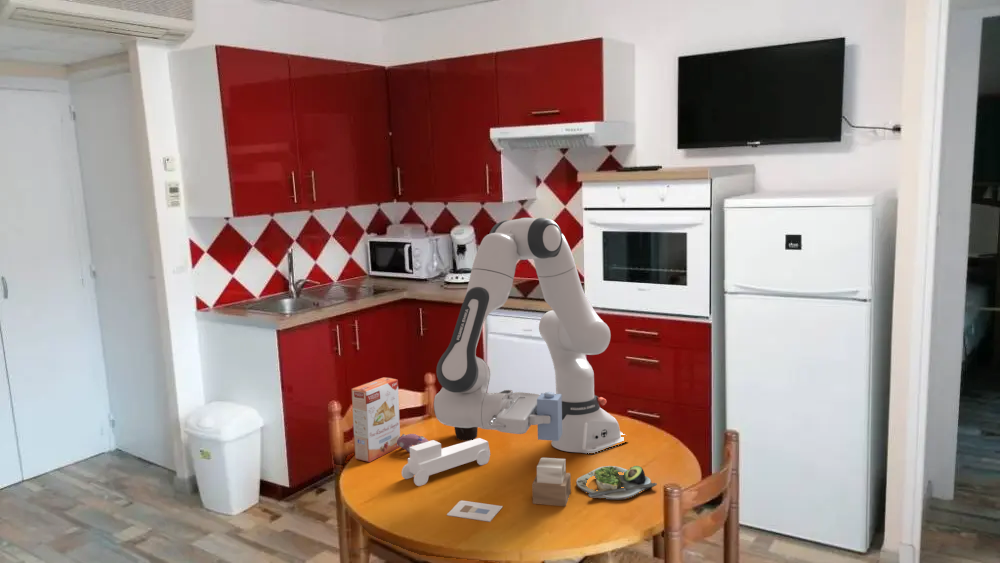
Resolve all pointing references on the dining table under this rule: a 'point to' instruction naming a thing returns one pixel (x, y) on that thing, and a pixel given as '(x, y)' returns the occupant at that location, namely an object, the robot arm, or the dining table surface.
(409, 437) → the video game controller
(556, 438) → the blue brick
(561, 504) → the tower base
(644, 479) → the salad plate
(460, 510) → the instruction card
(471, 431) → the coffee mug
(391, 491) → the dining table surface
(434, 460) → the toy truck
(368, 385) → the cracker box
